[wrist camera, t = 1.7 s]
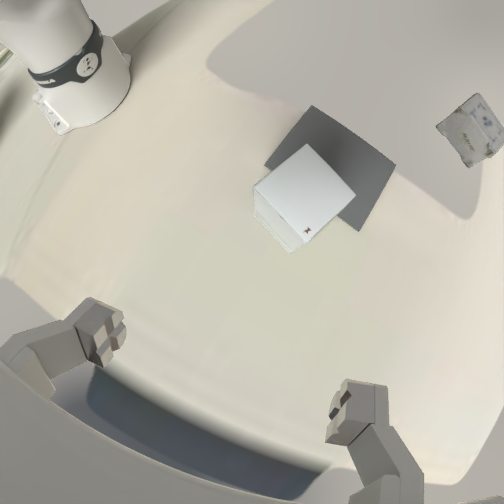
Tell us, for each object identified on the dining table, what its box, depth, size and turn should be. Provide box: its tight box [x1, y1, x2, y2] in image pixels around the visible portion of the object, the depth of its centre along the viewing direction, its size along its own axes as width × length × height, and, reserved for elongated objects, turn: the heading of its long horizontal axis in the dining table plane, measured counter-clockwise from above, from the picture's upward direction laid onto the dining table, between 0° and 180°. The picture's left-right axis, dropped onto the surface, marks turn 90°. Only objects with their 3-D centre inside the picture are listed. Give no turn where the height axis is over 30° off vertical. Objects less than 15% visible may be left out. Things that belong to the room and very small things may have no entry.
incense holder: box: [436, 93, 504, 168], centre depth 38 cm, size 10×8×10 cm
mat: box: [264, 106, 396, 232], centre depth 41 cm, size 16×13×1 cm
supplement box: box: [253, 144, 356, 254], centre depth 34 cm, size 7×7×13 cm
